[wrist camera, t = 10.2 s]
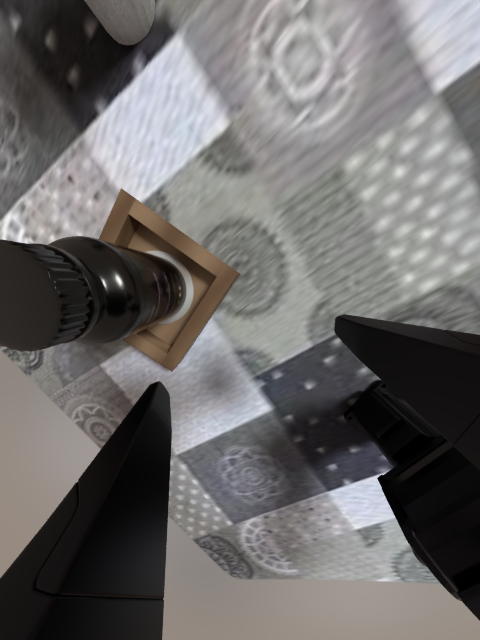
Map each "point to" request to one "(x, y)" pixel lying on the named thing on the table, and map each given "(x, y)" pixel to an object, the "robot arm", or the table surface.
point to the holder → (193, 262)
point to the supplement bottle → (82, 292)
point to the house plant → (124, 18)
